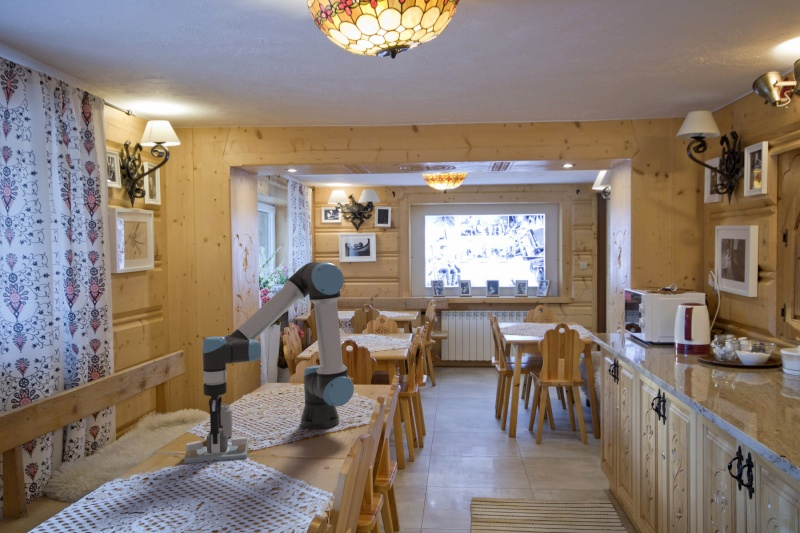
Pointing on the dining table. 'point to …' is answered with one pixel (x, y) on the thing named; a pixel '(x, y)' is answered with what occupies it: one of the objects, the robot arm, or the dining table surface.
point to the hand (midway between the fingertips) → (216, 449)
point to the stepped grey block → (222, 441)
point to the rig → (200, 453)
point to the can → (226, 419)
